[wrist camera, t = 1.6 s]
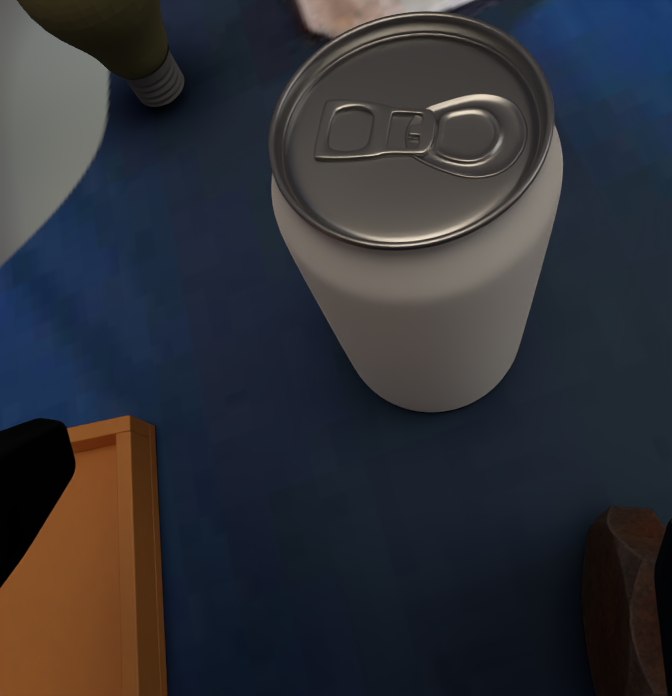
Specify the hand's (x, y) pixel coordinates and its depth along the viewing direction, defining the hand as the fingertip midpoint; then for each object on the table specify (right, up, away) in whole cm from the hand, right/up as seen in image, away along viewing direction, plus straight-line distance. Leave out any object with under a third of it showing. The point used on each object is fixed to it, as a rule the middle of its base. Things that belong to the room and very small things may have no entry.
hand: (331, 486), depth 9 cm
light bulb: (-8, +14, +21) cm, 27 cm away
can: (+4, +3, +14) cm, 15 cm away
